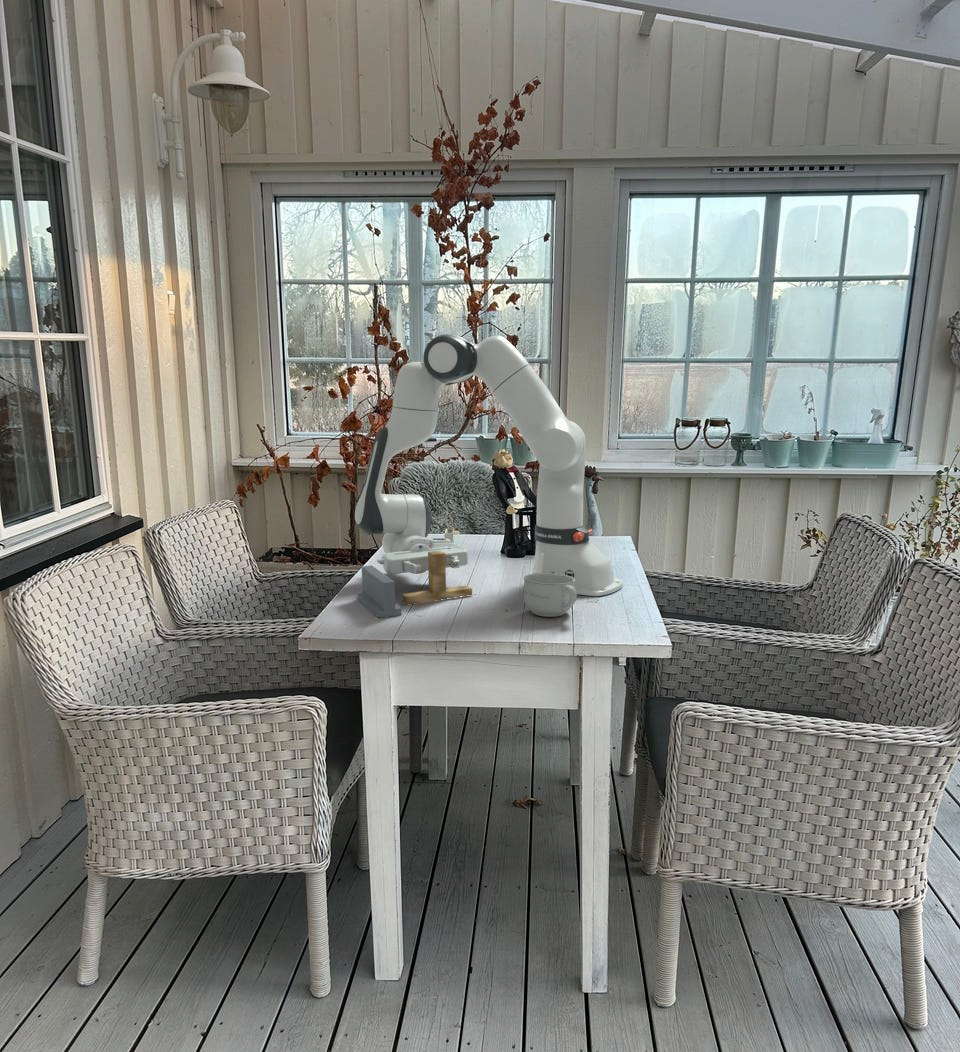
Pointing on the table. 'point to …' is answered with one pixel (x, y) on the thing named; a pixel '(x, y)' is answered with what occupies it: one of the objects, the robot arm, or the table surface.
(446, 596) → the wooden t-shaped post
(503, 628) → the table surface
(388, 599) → the ridge
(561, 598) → the teacup
